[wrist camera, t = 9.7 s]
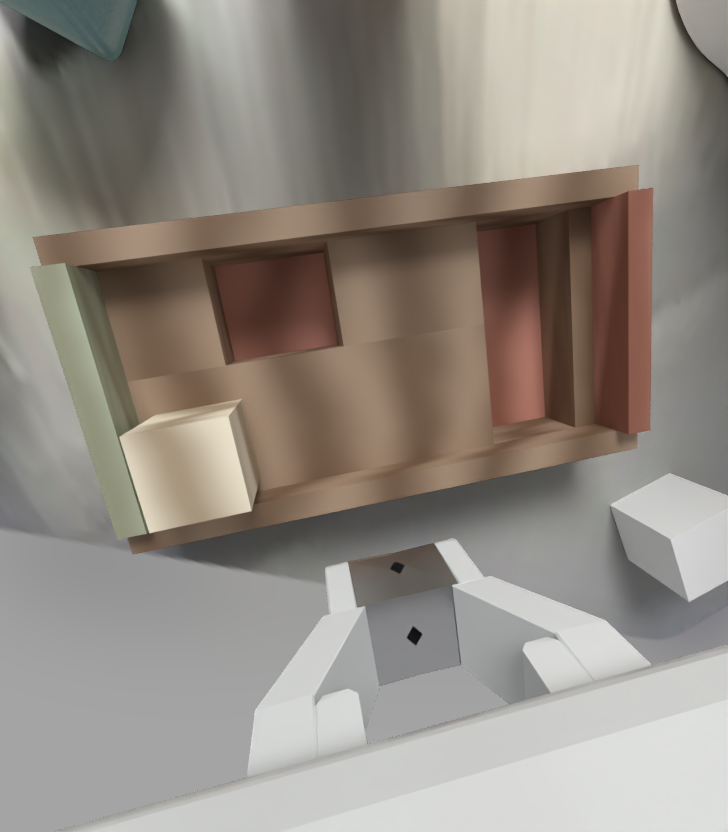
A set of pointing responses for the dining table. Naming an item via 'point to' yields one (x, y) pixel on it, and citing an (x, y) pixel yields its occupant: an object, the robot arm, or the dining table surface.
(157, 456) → the ash block
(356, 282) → the tray
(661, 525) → the white cube
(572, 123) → the dining table surface
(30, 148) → the dining table surface
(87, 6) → the flower pot
